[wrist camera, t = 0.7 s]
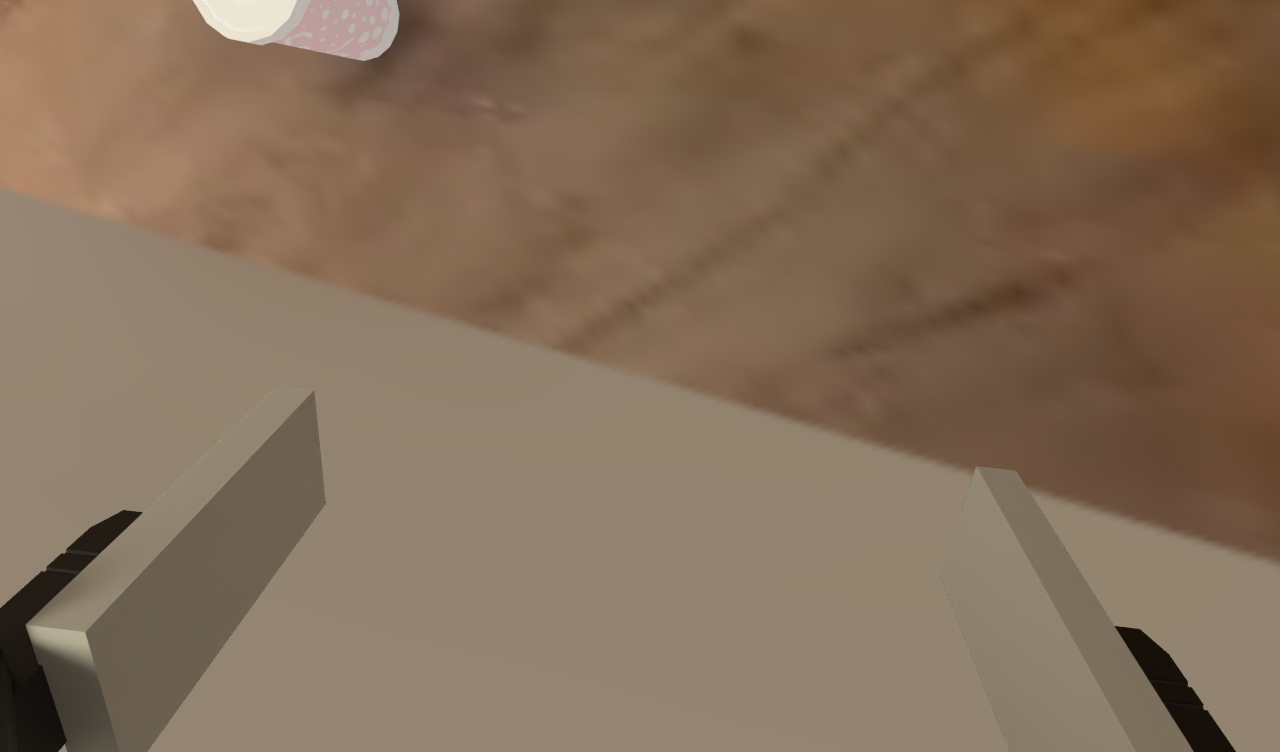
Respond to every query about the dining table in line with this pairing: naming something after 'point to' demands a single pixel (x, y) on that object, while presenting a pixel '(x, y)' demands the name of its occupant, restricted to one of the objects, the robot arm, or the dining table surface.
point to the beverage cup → (308, 24)
